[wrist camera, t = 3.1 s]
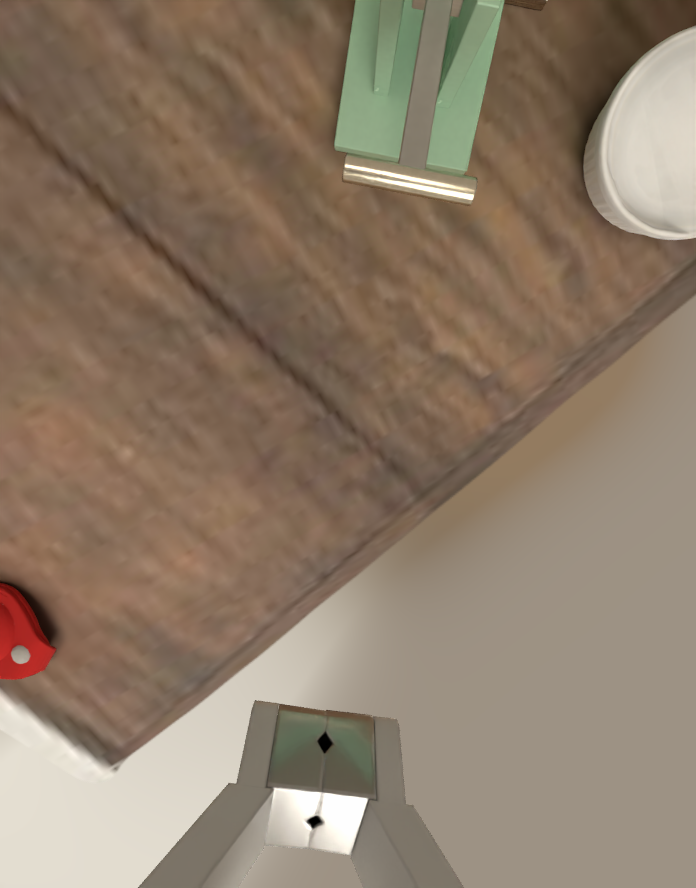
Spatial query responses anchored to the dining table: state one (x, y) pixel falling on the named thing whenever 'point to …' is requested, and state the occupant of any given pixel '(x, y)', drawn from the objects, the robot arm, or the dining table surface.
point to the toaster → (528, 3)
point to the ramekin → (649, 145)
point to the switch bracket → (390, 76)
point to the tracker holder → (20, 637)
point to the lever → (418, 124)
